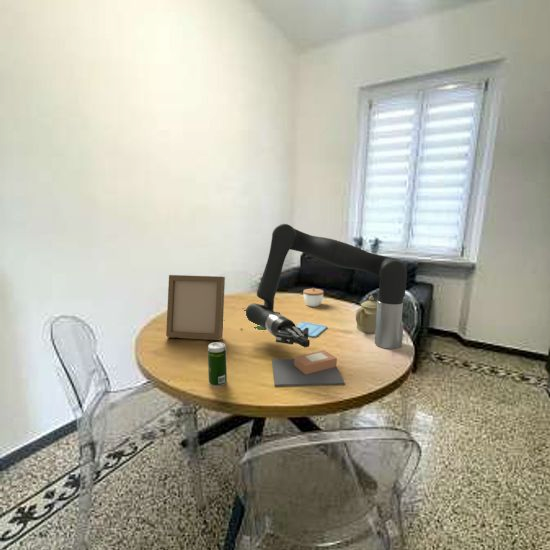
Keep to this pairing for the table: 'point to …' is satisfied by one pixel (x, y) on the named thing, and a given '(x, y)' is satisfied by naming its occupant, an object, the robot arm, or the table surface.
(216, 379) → the beer can
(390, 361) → the table surface
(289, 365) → the mat
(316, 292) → the lidded jar
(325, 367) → the card box
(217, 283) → the photo frame
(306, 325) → the blue striped flat panel
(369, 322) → the sugar bowl
